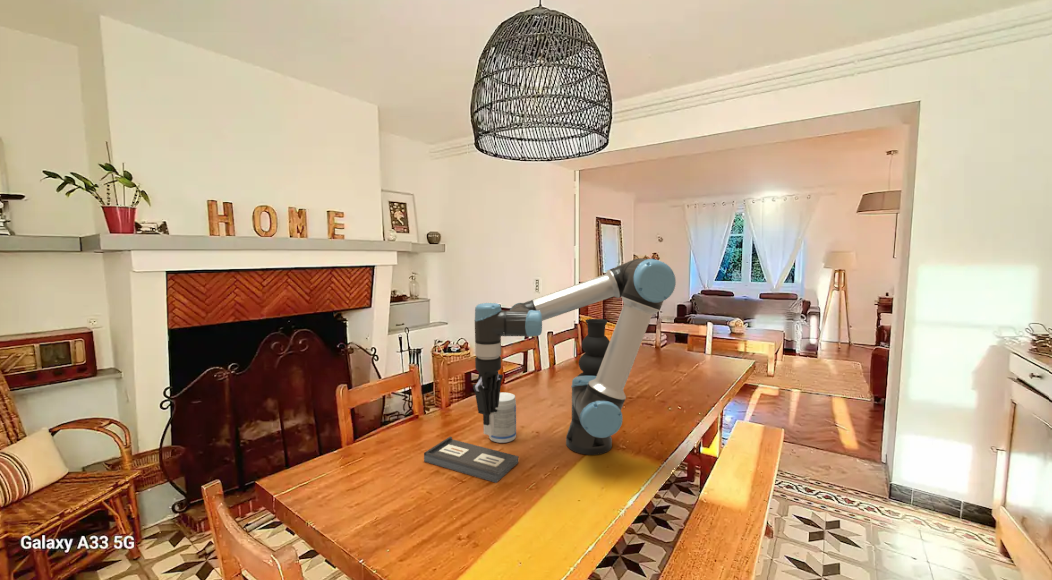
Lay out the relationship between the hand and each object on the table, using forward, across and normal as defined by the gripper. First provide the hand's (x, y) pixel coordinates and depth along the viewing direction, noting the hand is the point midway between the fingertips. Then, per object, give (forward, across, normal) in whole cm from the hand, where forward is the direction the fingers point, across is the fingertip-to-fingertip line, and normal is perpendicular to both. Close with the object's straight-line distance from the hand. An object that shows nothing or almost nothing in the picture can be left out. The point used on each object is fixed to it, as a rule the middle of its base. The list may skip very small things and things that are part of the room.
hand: (488, 433), depth 130 cm
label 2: (+8, 0, 0) cm, 8 cm away
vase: (+11, -67, +10) cm, 69 cm away
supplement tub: (+11, -19, -7) cm, 23 cm away
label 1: (+8, 0, -13) cm, 15 cm away
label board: (+10, 0, -6) cm, 12 cm away
